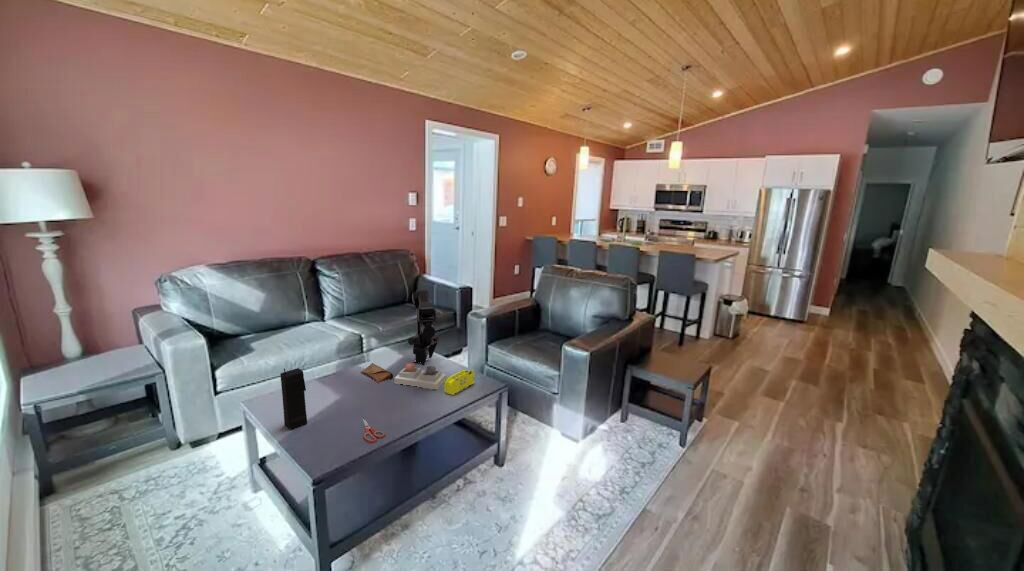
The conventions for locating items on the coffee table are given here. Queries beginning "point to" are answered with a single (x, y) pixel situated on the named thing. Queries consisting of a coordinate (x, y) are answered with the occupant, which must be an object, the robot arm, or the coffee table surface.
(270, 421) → the coffee table surface
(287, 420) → the portable radio
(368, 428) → the scissors
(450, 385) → the yellow toy chassis
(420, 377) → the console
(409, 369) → the pink rounded ball
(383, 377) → the sunglasses case
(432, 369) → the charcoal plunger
